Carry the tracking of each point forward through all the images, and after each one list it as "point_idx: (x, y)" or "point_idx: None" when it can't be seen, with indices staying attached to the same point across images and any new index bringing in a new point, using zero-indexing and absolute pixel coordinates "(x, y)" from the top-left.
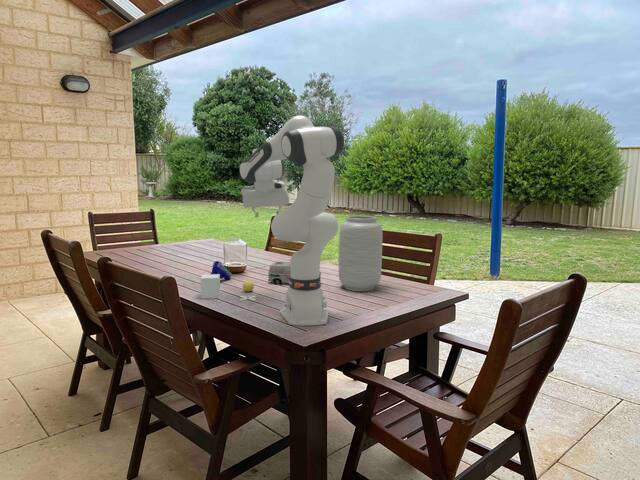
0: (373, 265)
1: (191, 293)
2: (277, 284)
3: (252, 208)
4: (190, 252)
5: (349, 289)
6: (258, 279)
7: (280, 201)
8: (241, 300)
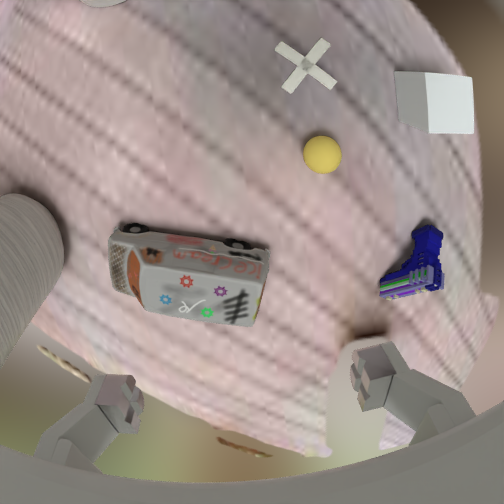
0: None
1: None
2: (238, 241)
3: (461, 408)
4: None
5: (43, 206)
6: (303, 289)
7: (8, 491)
8: (321, 38)
